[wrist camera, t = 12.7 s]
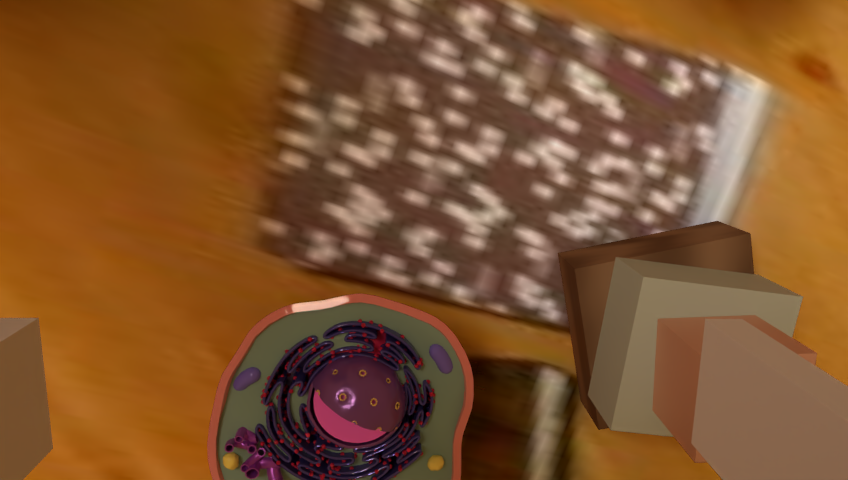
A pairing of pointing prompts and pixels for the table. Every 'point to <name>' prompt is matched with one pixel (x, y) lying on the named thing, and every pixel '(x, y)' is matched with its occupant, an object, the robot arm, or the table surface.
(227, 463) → the cell model
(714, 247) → the tower base
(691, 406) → the block
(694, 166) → the table surface
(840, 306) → the table surface
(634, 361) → the tower top
